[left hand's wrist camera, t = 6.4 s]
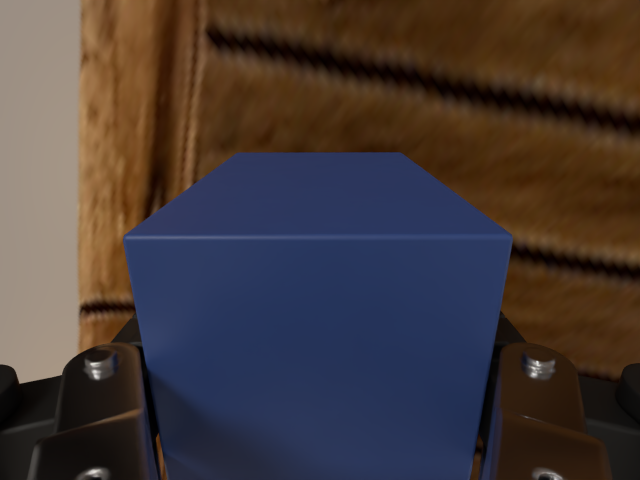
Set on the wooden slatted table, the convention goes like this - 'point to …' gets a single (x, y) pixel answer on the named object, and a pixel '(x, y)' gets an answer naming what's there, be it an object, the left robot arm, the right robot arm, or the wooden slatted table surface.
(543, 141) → the wooden slatted table surface
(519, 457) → the left robot arm
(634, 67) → the wooden slatted table surface
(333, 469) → the box
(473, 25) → the wooden slatted table surface
